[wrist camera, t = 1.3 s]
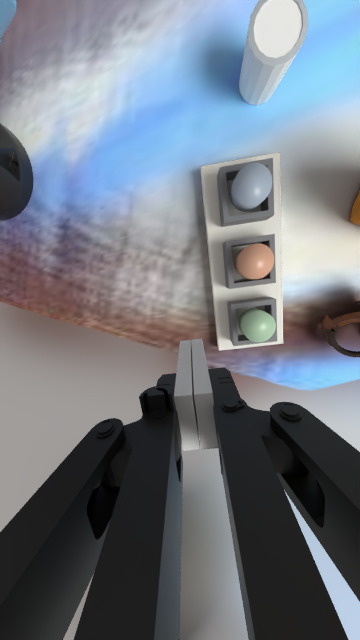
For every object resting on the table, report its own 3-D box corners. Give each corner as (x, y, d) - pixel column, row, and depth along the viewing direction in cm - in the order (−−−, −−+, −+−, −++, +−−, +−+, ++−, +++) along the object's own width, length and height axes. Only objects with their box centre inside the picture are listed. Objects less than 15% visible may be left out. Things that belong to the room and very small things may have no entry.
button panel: (200, 172, 33) (202, 155, 28) (274, 159, 32) (289, 139, 27) (217, 346, 40) (221, 357, 35) (278, 339, 39) (291, 349, 34)
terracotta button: (233, 248, 31) (238, 246, 28) (265, 243, 31) (273, 240, 28) (235, 280, 32) (240, 281, 30) (266, 276, 32) (274, 276, 29)
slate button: (228, 176, 29) (232, 166, 26) (263, 170, 29) (271, 159, 26) (230, 214, 30) (235, 207, 27) (264, 208, 30) (272, 201, 27)
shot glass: (247, 44, 29) (265, -26, 22) (289, 64, 29) (320, 2, 22) (227, 99, 30) (238, 50, 24) (267, 118, 31) (290, 74, 24)
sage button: (237, 310, 34) (242, 313, 31) (267, 306, 33) (275, 309, 30) (239, 338, 35) (244, 344, 32) (268, 334, 34) (276, 340, 32)
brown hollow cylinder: (366, 346, 39) (377, 370, 33) (313, 330, 43) (313, 349, 37) (405, 289, 34) (427, 305, 27) (339, 277, 38) (344, 288, 31)
